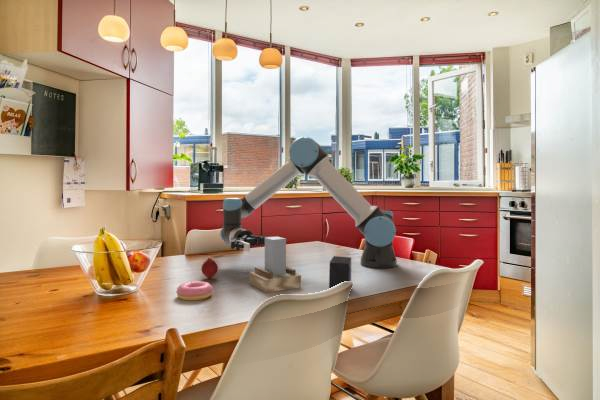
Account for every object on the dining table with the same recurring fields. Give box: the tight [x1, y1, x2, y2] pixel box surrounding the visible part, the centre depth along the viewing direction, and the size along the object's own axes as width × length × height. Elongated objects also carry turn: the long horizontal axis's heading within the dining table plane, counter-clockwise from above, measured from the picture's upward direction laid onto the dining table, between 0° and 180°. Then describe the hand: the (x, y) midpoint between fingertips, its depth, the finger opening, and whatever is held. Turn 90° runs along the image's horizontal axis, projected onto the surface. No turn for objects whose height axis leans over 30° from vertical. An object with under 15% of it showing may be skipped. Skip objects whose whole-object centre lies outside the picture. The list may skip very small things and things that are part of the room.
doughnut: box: [175, 280, 214, 302], centre depth 124 cm, size 11×11×4 cm
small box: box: [328, 255, 352, 289], centre depth 130 cm, size 11×6×10 cm, turn 168°
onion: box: [200, 256, 219, 279], centre depth 146 cm, size 6×6×8 cm
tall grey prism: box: [264, 236, 287, 276], centre depth 136 cm, size 5×6×12 cm
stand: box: [248, 266, 302, 293], centre depth 137 cm, size 13×13×6 cm
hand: (266, 245), depth 141 cm, fingers open, 13 cm apart
